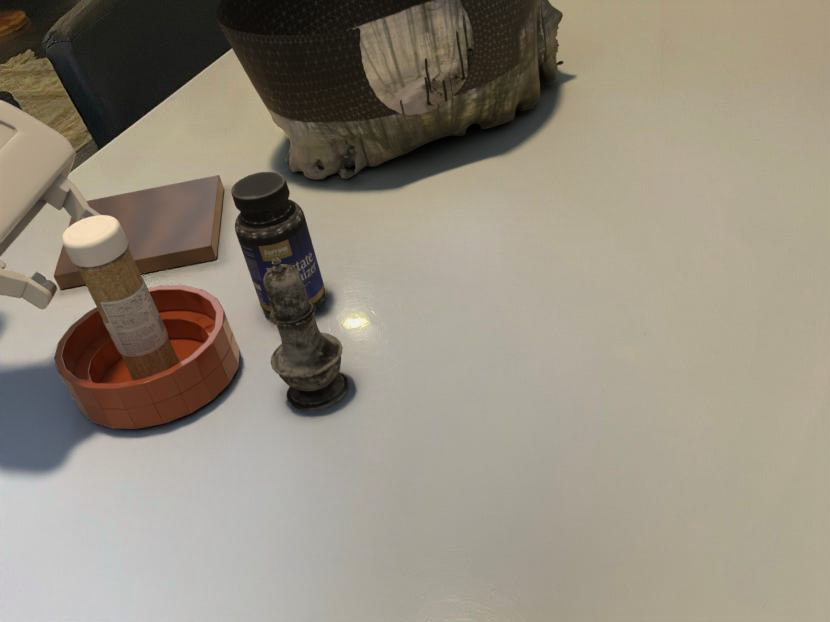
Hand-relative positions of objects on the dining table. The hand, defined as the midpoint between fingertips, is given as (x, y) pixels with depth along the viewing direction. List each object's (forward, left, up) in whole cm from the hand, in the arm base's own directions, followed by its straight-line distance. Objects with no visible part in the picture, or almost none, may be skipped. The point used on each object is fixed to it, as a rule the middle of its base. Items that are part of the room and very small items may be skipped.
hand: (77, 264), depth 76 cm
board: (-2, +25, -11) cm, 28 cm away
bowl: (+2, -1, -11) cm, 11 cm away
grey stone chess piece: (+16, -7, -11) cm, 21 cm away
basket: (+28, +39, -11) cm, 50 cm away
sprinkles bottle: (+2, -1, -11) cm, 11 cm away
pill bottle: (+14, +7, -11) cm, 20 cm away
